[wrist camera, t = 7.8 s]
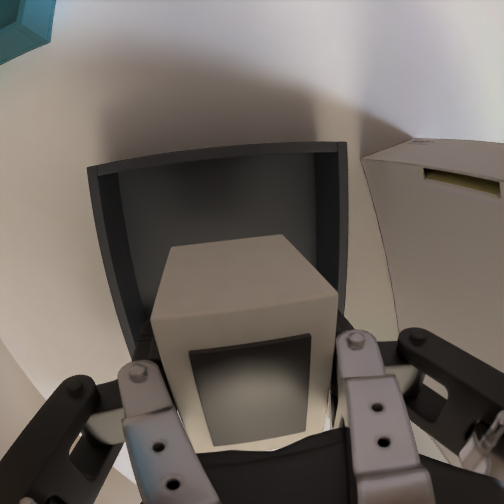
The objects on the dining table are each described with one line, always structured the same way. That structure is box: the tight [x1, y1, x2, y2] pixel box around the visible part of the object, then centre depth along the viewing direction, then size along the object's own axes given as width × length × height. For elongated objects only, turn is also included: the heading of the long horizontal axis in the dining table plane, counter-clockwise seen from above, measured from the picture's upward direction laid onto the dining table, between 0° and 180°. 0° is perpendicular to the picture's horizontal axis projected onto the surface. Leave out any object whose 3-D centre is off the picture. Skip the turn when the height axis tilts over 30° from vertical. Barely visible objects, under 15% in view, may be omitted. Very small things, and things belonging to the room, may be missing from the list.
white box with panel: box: [150, 234, 338, 453], centre depth 10 cm, size 4×6×6 cm
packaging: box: [360, 138, 504, 467], centre depth 16 cm, size 30×6×20 cm, turn 22°
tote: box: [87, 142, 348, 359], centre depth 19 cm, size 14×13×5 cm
